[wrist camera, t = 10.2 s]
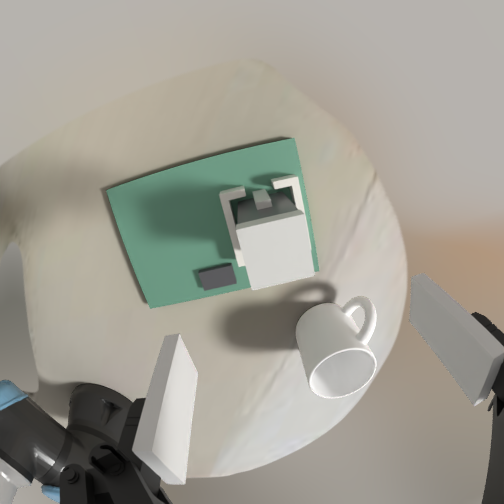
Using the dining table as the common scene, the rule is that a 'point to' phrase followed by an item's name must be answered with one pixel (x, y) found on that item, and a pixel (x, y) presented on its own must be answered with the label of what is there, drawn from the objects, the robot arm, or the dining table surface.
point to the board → (197, 221)
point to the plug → (273, 240)
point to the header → (240, 192)
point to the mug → (336, 347)
